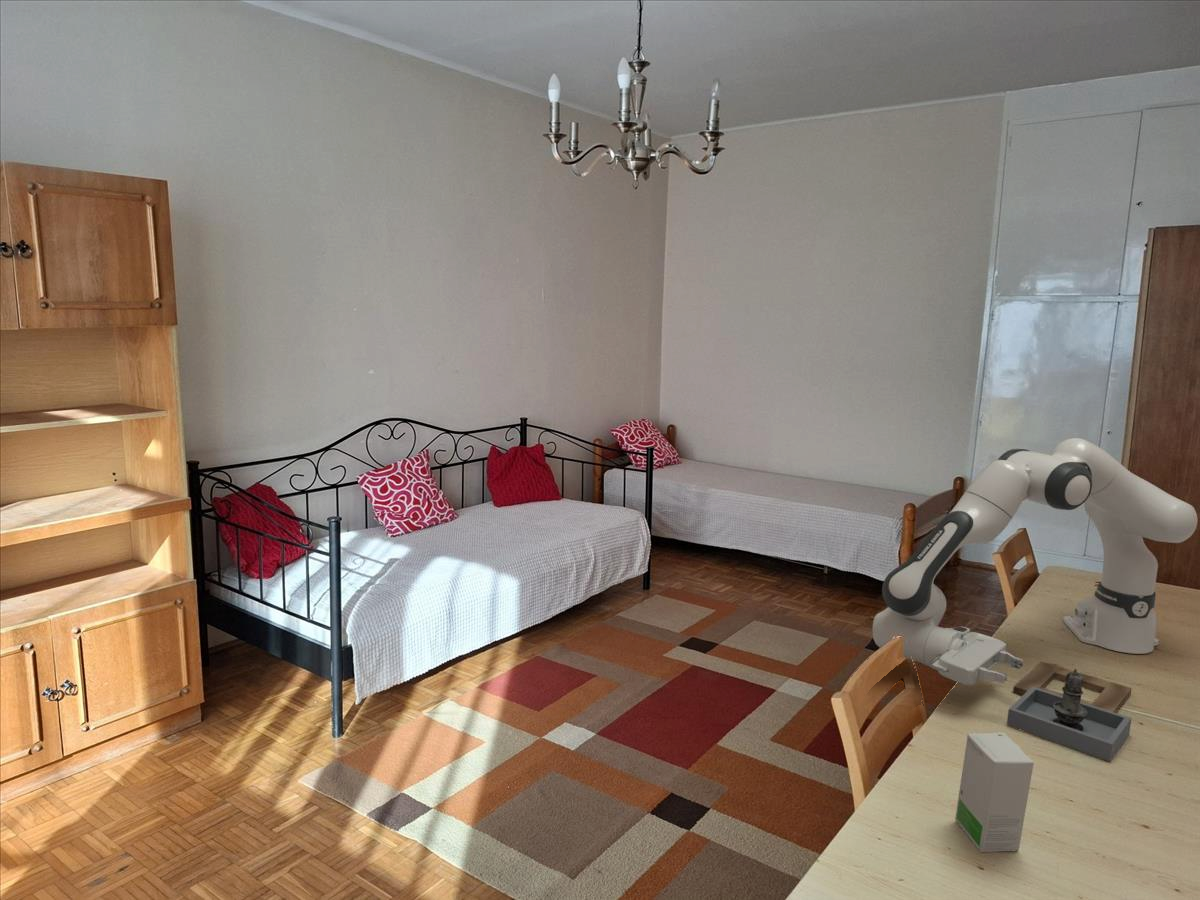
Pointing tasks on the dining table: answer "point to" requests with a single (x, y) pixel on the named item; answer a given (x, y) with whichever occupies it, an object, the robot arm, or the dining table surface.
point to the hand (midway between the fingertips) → (1013, 671)
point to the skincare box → (993, 791)
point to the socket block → (1110, 692)
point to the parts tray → (1096, 738)
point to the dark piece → (1071, 703)
